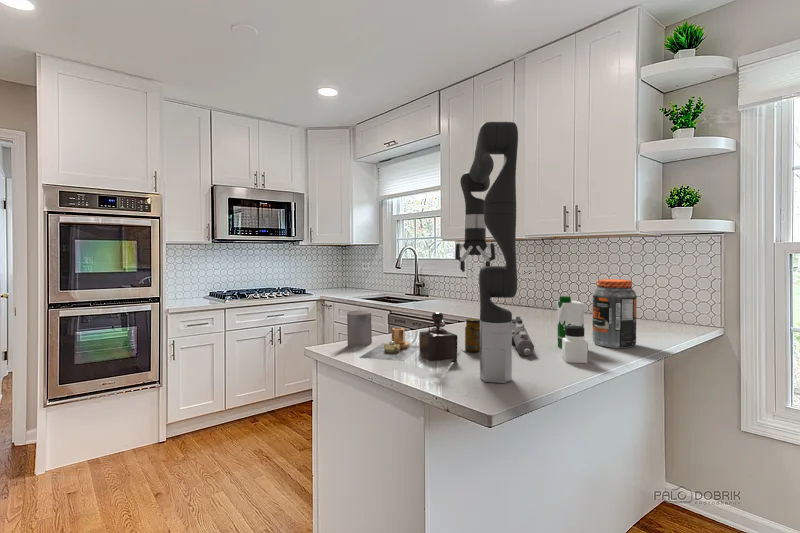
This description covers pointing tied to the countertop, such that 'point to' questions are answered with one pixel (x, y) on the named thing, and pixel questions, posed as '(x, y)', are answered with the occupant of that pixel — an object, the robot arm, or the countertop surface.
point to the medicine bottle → (574, 345)
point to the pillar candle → (359, 328)
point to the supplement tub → (614, 313)
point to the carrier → (390, 352)
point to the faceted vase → (400, 337)
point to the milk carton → (568, 315)
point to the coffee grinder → (438, 342)
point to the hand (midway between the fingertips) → (475, 271)
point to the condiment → (472, 336)
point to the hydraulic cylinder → (521, 337)
